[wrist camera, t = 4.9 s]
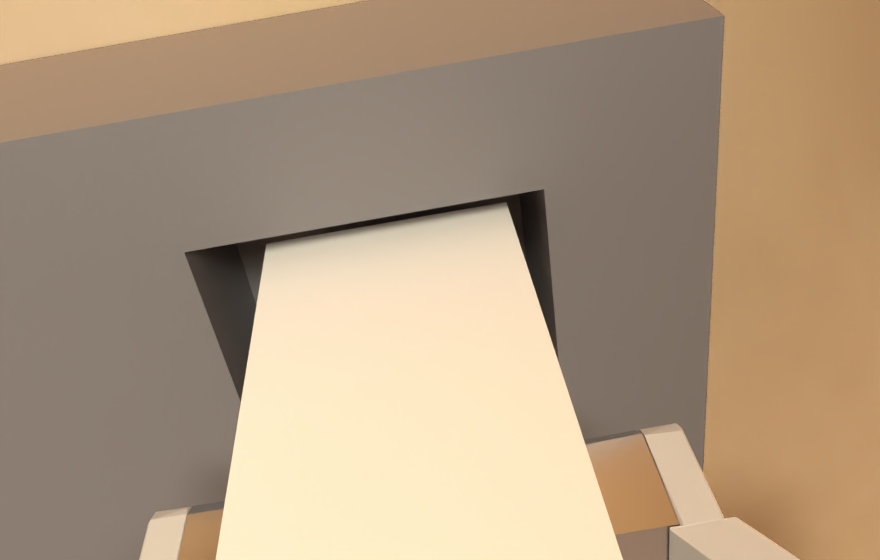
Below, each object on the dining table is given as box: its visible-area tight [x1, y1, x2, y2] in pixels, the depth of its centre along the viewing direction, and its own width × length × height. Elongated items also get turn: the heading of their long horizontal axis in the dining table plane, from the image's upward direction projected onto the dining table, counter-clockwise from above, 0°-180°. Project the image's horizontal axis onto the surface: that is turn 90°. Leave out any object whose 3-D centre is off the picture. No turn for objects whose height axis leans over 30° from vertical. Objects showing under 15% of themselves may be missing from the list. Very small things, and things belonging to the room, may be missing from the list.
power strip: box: [0, 0, 724, 560], centre depth 16 cm, size 22×10×4 cm, turn 98°
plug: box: [216, 202, 623, 560], centre depth 11 cm, size 4×4×8 cm
